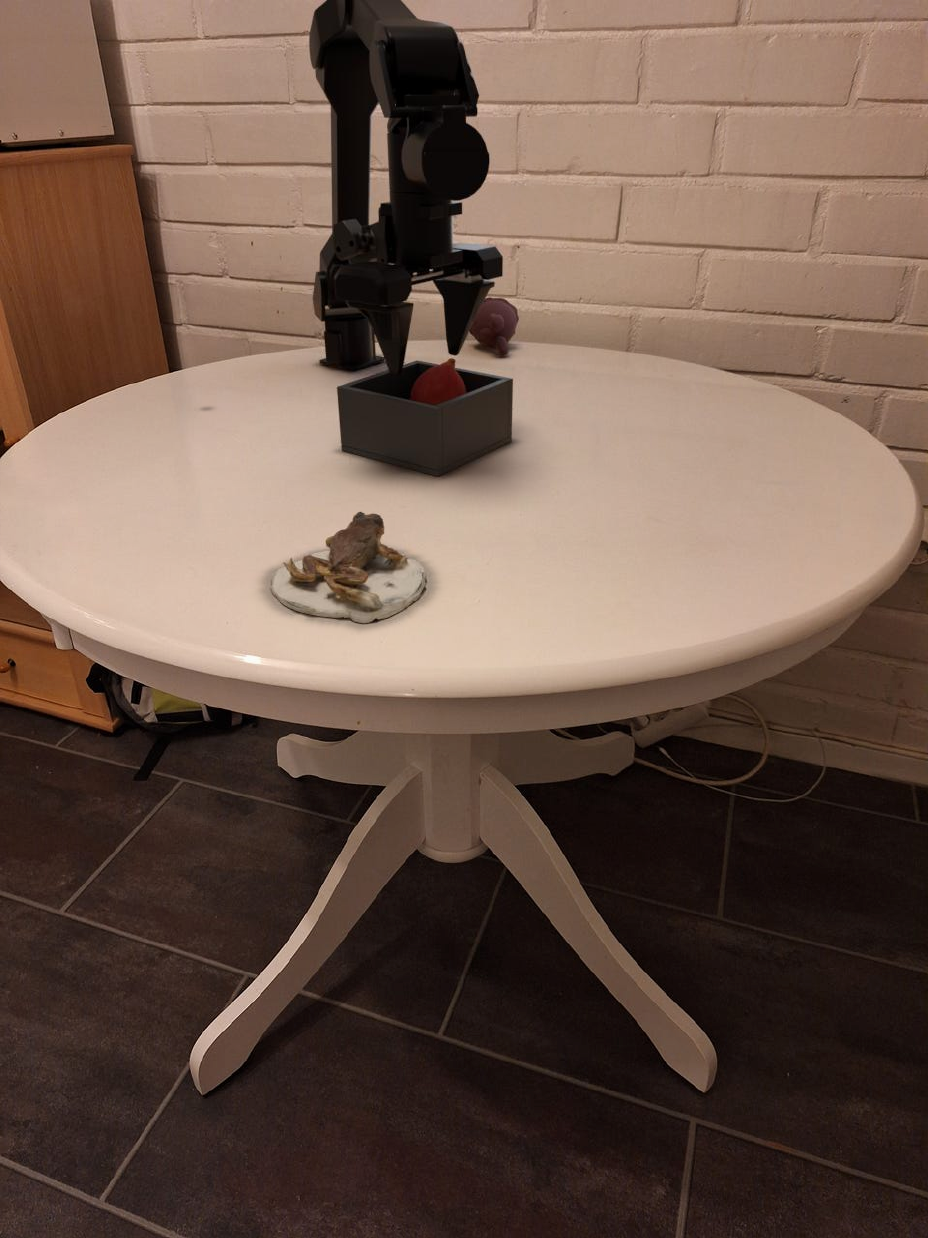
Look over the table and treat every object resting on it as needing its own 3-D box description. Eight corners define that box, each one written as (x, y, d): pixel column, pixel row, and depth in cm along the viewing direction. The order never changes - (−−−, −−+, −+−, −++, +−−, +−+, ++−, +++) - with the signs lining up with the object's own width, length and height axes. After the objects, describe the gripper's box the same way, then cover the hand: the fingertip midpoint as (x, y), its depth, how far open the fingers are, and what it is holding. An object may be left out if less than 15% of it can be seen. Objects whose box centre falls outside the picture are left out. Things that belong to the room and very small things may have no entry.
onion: (393, 418, 92) (415, 342, 92) (412, 433, 97) (433, 362, 97) (445, 431, 90) (468, 353, 90) (461, 445, 96) (483, 372, 96)
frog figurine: (311, 539, 75) (306, 495, 73) (449, 558, 71) (448, 513, 69) (239, 604, 65) (232, 556, 63) (395, 630, 62) (392, 580, 60)
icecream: (457, 290, 134) (467, 322, 122) (506, 276, 133) (521, 306, 121) (469, 335, 138) (480, 370, 126) (516, 322, 137) (531, 355, 125)
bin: (418, 419, 102) (416, 359, 98) (511, 441, 95) (513, 378, 92) (341, 450, 93) (336, 386, 90) (438, 476, 87) (436, 408, 83)
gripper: (416, 179, 93) (421, 335, 101) (282, 194, 80) (300, 372, 88) (507, 184, 87) (504, 349, 95) (378, 201, 74) (387, 390, 82)
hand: (425, 363), depth 90 cm, fingers open, 9 cm apart
